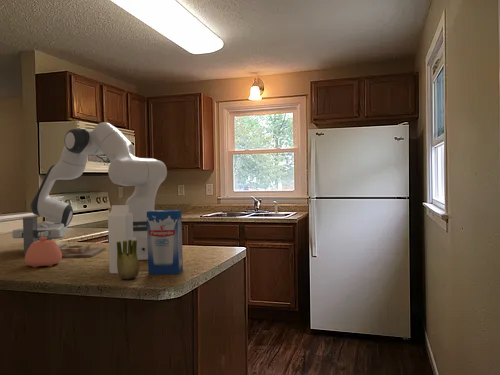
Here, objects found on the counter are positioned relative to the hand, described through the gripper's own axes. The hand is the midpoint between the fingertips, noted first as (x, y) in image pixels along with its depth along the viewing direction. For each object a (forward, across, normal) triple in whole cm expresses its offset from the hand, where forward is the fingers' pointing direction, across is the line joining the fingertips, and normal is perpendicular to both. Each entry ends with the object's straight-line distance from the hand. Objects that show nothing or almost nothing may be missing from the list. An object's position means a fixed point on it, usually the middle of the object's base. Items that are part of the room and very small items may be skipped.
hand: (29, 235), depth 177 cm
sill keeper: (-1, +18, +8) cm, 20 cm away
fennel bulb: (+48, +53, +9) cm, 72 cm away
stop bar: (-1, 0, +8) cm, 9 cm away
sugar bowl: (+21, +15, +9) cm, 27 cm away
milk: (+37, +48, +9) cm, 61 cm away
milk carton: (+40, +63, +9) cm, 75 cm away
